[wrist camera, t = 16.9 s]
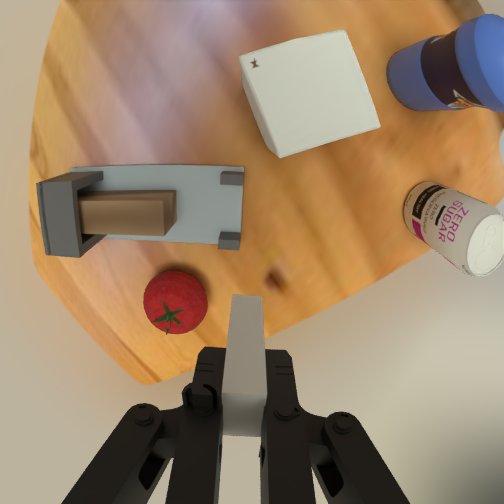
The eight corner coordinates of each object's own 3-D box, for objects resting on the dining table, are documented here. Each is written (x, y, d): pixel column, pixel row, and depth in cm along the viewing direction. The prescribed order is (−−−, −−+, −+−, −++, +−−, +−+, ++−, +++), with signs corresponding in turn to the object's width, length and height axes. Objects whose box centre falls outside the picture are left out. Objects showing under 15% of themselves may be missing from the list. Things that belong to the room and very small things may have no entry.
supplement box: (266, 151, 36) (276, 162, 22) (241, 85, 32) (233, 54, 19) (335, 129, 34) (384, 129, 21) (311, 64, 31) (345, 26, 17)
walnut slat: (81, 191, 36) (58, 202, 31) (176, 189, 36) (163, 200, 31) (84, 219, 38) (62, 233, 32) (176, 220, 38) (164, 236, 32)
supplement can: (444, 232, 39) (505, 275, 25) (400, 237, 40) (457, 286, 26) (447, 180, 36) (517, 207, 22) (401, 181, 37) (467, 210, 23)
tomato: (187, 324, 45) (177, 358, 38) (141, 290, 43) (122, 320, 36) (223, 288, 43) (217, 320, 35) (173, 249, 40) (157, 275, 33)
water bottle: (378, 47, 30) (507, -15, 7) (433, 51, 29) (566, 20, 6) (392, 113, 33) (542, 115, 10) (446, 112, 33) (589, 124, 9)
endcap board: (74, 167, 36) (36, 179, 28) (244, 166, 36) (241, 176, 28) (79, 234, 40) (46, 258, 31) (240, 242, 40) (236, 272, 32)
